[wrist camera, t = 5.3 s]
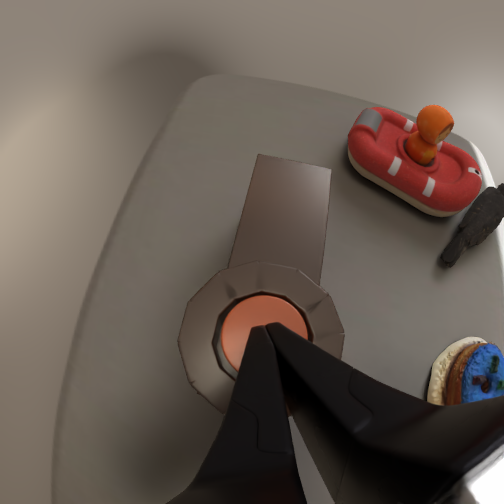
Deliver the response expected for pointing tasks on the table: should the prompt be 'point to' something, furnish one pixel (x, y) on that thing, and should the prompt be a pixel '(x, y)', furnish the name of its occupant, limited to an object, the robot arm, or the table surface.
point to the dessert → (467, 373)
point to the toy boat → (415, 159)
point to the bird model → (477, 223)
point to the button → (256, 323)
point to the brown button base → (265, 272)
